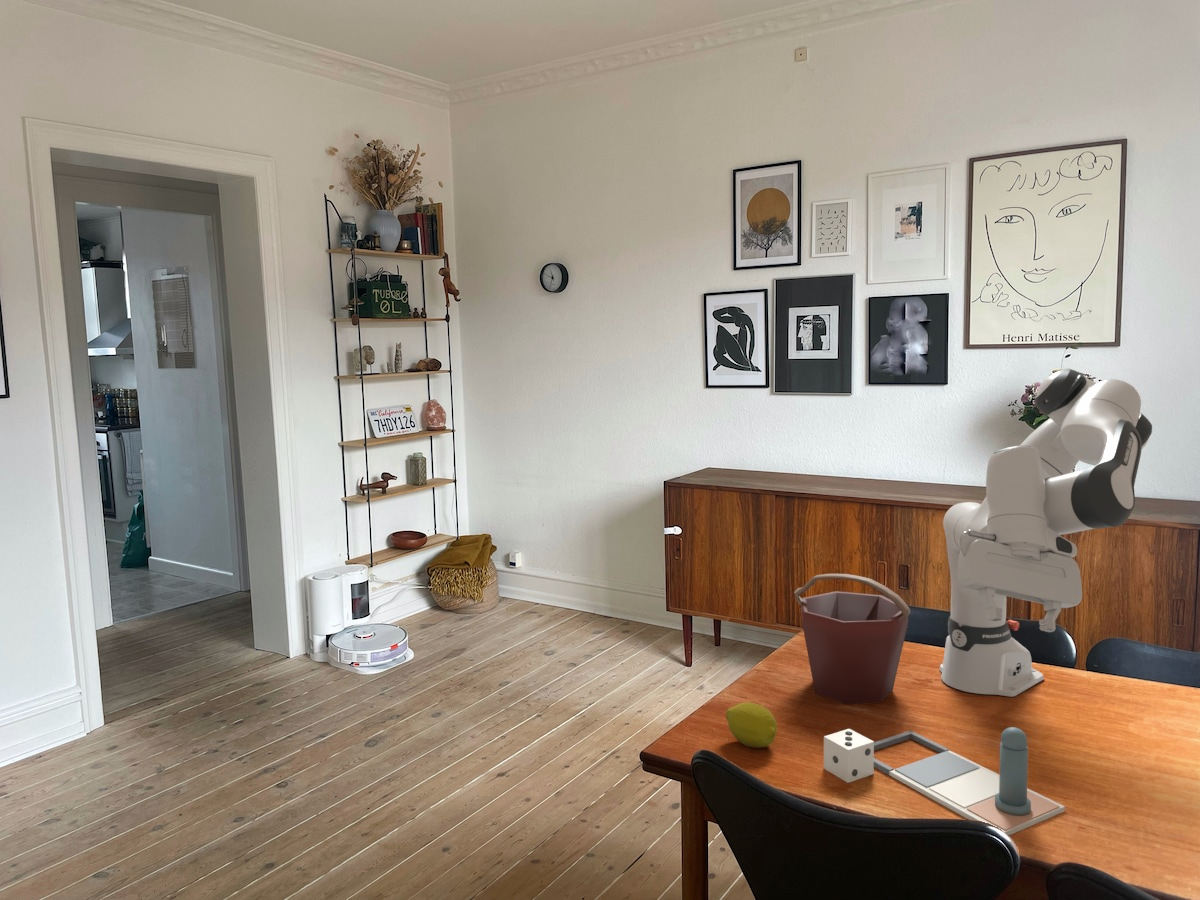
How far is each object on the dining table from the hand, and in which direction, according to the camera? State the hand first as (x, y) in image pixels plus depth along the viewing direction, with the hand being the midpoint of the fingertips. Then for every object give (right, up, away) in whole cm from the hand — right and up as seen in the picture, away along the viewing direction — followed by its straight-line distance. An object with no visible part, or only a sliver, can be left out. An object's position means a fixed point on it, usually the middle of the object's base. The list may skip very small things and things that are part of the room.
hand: (1021, 625), depth 135 cm
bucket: (-10, -25, +55) cm, 61 cm away
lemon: (-36, -29, +30) cm, 55 cm away
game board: (-5, -30, +14) cm, 33 cm away
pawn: (+1, -30, +4) cm, 30 cm away
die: (-21, -30, +19) cm, 41 cm away
